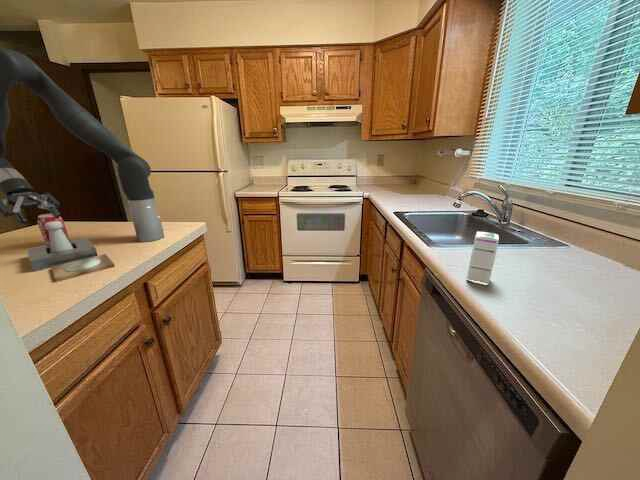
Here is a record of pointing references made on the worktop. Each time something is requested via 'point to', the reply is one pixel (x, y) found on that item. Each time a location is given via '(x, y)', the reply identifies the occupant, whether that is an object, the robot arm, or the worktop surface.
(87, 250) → the collar block
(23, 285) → the worktop surface
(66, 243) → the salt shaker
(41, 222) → the soda can
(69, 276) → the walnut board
